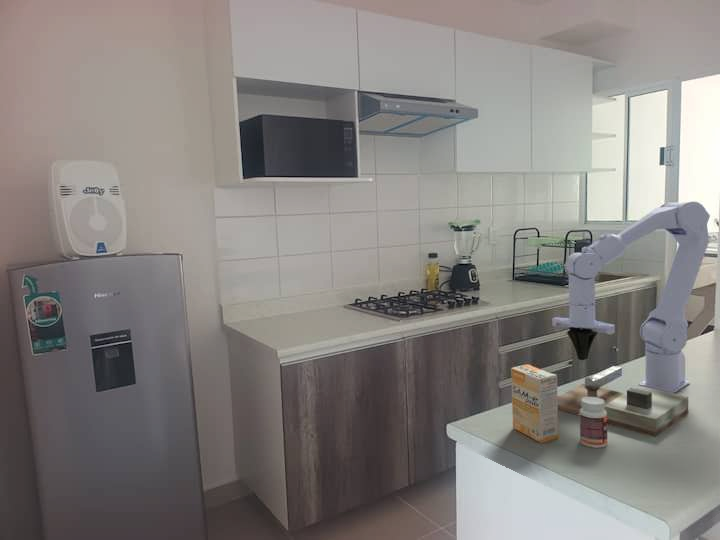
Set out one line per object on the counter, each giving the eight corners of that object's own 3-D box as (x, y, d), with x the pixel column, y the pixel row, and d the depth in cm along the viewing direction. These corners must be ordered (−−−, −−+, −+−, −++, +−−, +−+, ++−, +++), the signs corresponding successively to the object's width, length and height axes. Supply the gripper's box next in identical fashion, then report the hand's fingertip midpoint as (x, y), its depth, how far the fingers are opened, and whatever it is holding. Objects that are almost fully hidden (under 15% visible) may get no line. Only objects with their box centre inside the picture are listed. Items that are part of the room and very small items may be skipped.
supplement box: (511, 429, 105) (509, 367, 104) (530, 423, 107) (528, 363, 106) (540, 444, 98) (538, 378, 96) (559, 438, 99) (557, 373, 98)
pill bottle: (610, 448, 94) (610, 405, 93) (583, 448, 95) (582, 404, 94) (603, 437, 99) (603, 395, 98) (577, 436, 100) (576, 395, 99)
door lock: (583, 387, 125) (582, 362, 125) (688, 412, 107) (688, 382, 107) (546, 406, 116) (546, 378, 115) (655, 436, 98) (655, 404, 97)
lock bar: (595, 391, 112) (595, 382, 112) (582, 388, 114) (582, 379, 114) (624, 376, 120) (624, 367, 120) (611, 373, 122) (611, 365, 122)
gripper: (544, 302, 124) (546, 357, 126) (604, 309, 113) (604, 368, 115) (560, 298, 129) (561, 351, 130) (619, 304, 117) (619, 361, 119)
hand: (582, 358), depth 123 cm, fingers closed
